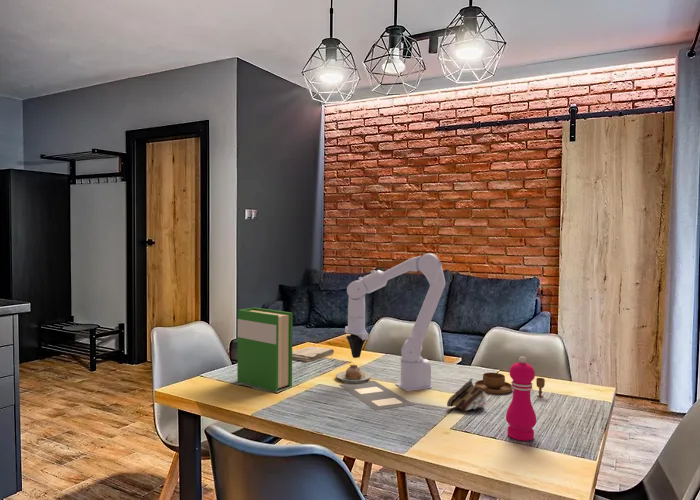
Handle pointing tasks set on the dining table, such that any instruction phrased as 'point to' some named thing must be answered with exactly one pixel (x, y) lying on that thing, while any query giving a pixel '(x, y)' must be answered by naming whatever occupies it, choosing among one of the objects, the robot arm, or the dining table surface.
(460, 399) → the chocolate cake
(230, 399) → the dining table surface
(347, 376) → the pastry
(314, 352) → the washcloth
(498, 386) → the place setting
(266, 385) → the hardback book
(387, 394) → the label panel
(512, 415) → the pepper mill
